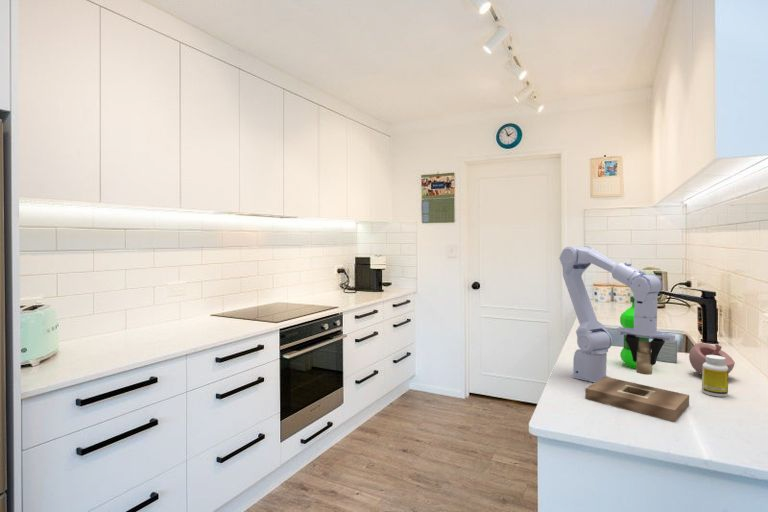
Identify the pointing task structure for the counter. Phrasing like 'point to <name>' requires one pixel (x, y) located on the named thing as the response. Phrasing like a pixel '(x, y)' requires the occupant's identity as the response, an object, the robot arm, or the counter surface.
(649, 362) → the beech peg
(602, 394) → the socket board
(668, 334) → the robot arm
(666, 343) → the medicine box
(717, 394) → the pill bottle
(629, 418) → the counter surface
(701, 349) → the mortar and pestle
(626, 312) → the plastic bottle
